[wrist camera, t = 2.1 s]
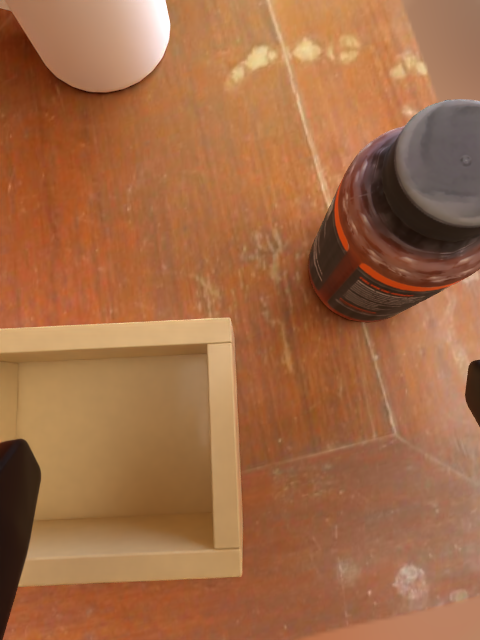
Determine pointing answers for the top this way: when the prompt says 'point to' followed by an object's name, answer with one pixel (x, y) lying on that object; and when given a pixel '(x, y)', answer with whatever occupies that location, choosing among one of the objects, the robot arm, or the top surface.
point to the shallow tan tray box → (128, 449)
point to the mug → (95, 39)
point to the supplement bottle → (403, 217)
